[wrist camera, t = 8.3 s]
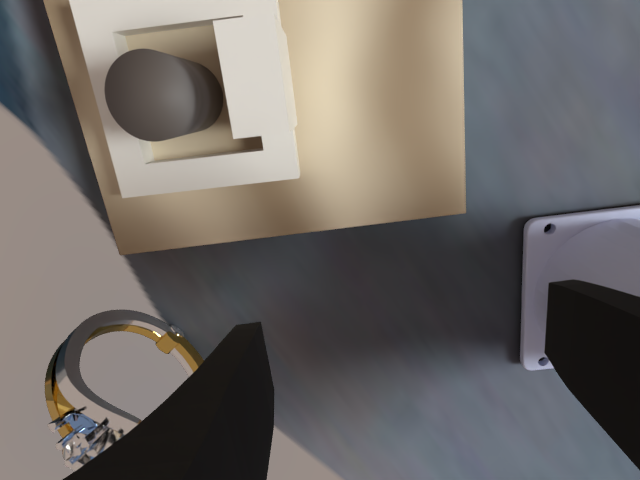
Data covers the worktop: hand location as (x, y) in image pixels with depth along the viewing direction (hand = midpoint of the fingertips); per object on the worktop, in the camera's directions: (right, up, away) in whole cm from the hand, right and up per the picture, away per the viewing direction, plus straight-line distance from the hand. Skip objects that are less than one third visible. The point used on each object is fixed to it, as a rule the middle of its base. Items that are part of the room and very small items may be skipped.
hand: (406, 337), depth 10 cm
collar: (-7, +8, +6) cm, 12 cm away
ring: (-10, -2, +11) cm, 15 cm away
